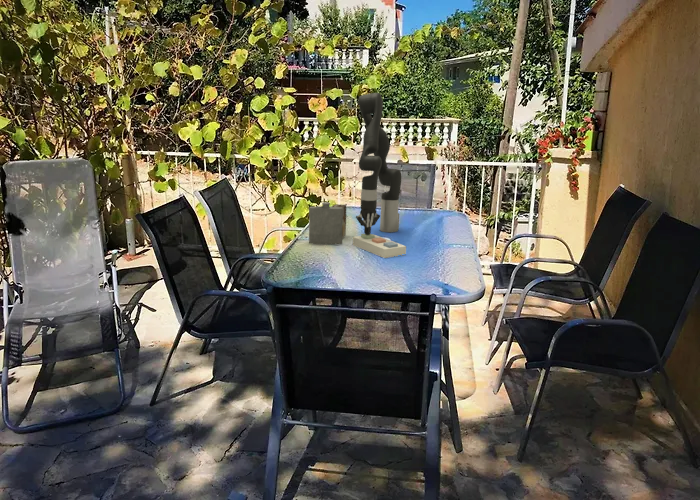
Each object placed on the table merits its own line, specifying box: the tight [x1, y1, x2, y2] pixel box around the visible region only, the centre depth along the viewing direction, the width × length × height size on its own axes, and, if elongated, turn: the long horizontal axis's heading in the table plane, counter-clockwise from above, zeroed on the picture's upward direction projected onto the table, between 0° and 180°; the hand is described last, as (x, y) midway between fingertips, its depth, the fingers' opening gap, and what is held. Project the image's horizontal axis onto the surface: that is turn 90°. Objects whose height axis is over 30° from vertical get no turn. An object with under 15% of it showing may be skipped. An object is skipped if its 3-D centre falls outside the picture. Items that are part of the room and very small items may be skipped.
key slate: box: [383, 241, 398, 248], centre depth 242 cm, size 5×5×3 cm
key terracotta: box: [372, 237, 386, 243], centre depth 249 cm, size 5×5×3 cm
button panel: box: [352, 234, 407, 259], centre depth 249 cm, size 12×26×4 cm, turn 33°
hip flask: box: [308, 201, 343, 245], centre depth 256 cm, size 16×4×20 cm, turn 92°
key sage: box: [360, 233, 376, 239], centre depth 256 cm, size 5×5×3 cm
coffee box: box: [331, 203, 347, 240], centre depth 269 cm, size 9×6×16 cm
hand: (367, 234), depth 256 cm, fingers closed
